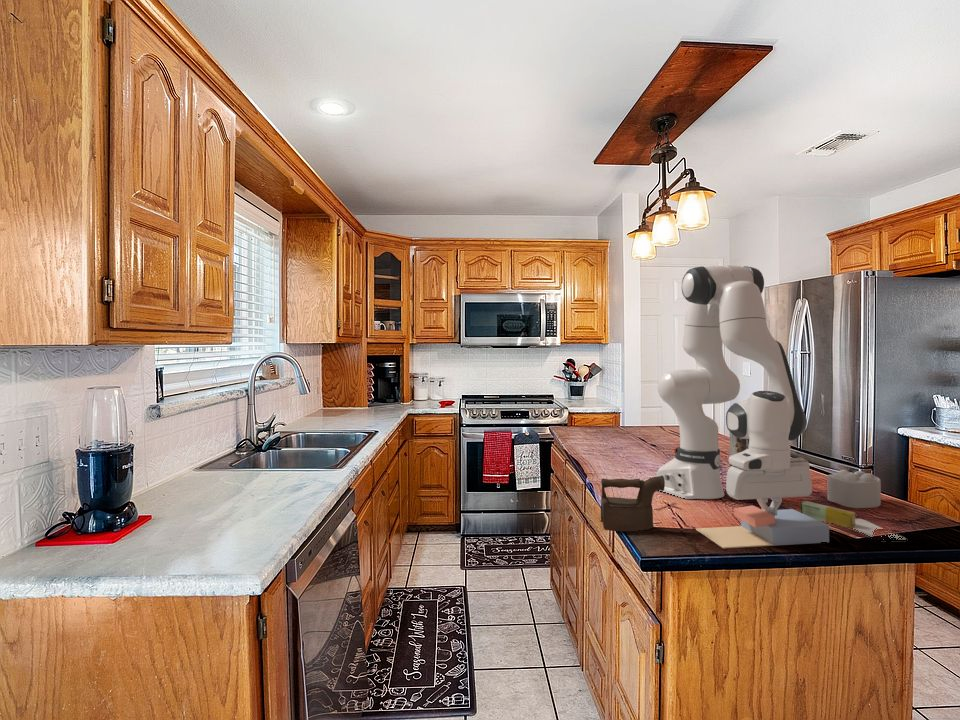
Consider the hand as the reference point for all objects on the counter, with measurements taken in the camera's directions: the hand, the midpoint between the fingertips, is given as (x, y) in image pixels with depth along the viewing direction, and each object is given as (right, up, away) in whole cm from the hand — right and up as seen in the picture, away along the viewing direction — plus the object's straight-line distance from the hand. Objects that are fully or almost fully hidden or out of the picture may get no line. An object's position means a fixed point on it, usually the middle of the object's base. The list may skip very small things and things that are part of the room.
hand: (769, 515), depth 121 cm
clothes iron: (-32, -6, +8) cm, 33 cm away
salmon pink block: (-4, -1, 0) cm, 4 cm away
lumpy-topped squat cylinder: (+40, -4, +25) cm, 47 cm away
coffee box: (+24, -4, +54) cm, 59 cm away
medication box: (+20, -5, +9) cm, 23 cm away
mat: (-9, -5, -1) cm, 11 cm away
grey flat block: (+4, -5, 0) cm, 6 cm away
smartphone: (+27, -5, +3) cm, 27 cm away
